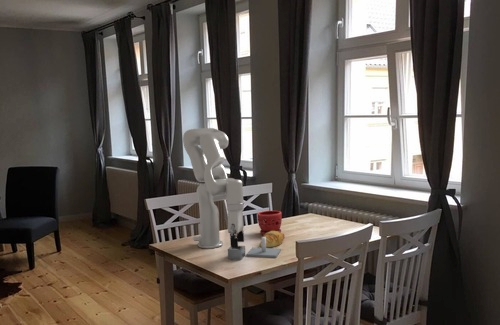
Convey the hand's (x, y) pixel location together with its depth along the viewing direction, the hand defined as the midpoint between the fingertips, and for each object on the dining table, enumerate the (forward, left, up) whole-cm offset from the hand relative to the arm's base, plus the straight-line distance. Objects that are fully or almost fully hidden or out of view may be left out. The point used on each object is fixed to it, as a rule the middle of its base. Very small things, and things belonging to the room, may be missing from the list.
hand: (237, 244), depth 207 cm
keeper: (+10, +8, -6) cm, 14 cm away
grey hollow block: (-1, +1, -6) cm, 6 cm away
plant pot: (+5, +44, -7) cm, 45 cm away
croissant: (+10, +25, -7) cm, 27 cm away
